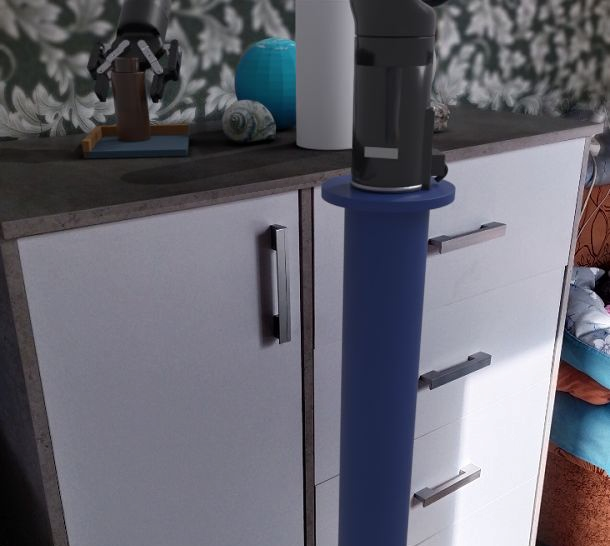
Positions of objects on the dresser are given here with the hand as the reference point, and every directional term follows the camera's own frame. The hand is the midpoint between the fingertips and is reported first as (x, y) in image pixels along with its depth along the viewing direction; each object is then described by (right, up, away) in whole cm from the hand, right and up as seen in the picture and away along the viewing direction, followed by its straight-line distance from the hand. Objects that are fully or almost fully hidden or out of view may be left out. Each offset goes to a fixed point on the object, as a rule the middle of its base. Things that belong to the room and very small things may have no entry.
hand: (127, 99), depth 117 cm
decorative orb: (+22, +2, +20) cm, 30 cm away
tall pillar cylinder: (+31, -6, +5) cm, 32 cm away
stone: (+46, 0, +17) cm, 49 cm away
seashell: (+18, -4, +7) cm, 20 cm away
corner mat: (+1, -7, +2) cm, 7 cm away
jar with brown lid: (0, -5, +4) cm, 6 cm away
